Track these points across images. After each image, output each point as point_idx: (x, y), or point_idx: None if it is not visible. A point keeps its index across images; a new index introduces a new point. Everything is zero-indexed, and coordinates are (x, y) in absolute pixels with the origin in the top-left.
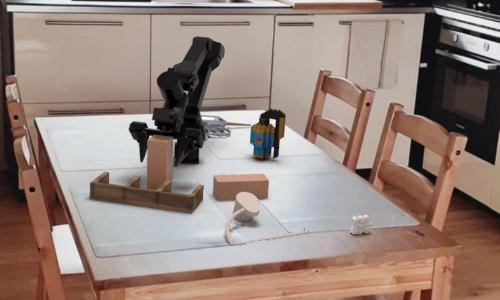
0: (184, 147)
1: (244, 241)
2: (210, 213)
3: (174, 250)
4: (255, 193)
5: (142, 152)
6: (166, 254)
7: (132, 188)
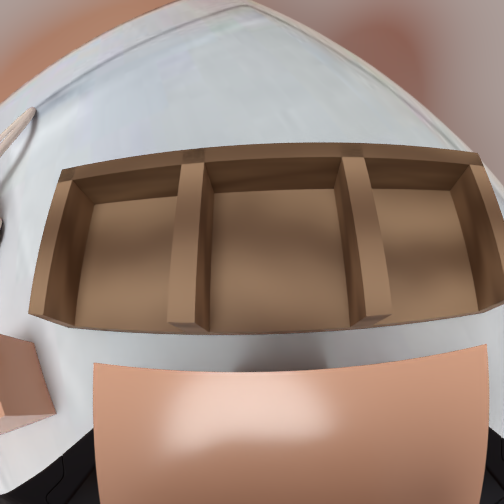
0: (26, 490)
1: (12, 124)
2: None
3: (126, 50)
4: None
5: None
6: (138, 39)
7: (313, 146)
